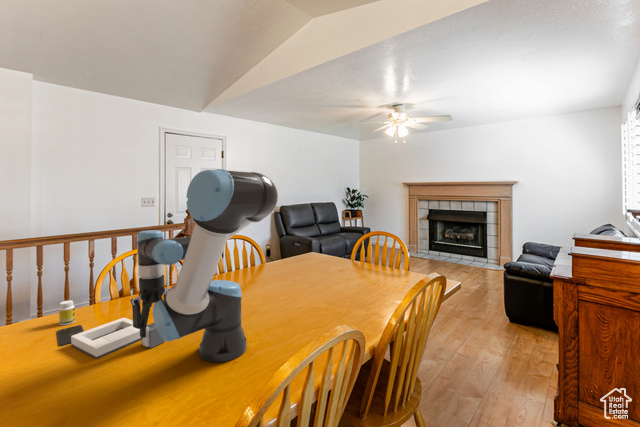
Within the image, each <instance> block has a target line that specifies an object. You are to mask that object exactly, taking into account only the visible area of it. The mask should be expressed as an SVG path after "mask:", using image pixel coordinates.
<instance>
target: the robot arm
mask: <svg viewBox="0 0 640 427" xmlns="http://www.w3.org/2000/svg"><path fill="white" fill-rule="evenodd" d="M186 191H187V192H186V199H187V200H186V208H187V211H188V213H189V215H190V217H191V220H192V222H193V223H194V228H193V231H192V234H191V236H184V237H173V238H164V233H163V232H162V231H161V230H156V229H154V230H151V229H150V230H141V231H139V232H138V233H137V237H136V239H137V240H136V244H137V264H138V266H137V267H138V277H139V278H138V288H139V293H138V296H136V297H134V298H131V299H130V302H129V303H130V304H131V305H132V306H131V307H132V321H133V327H134V328H137V329H140V337H141V338H142V340H141V343H142V342H143V345H142V346H144V347H147V348H149V327H147V325H148V321H149V316H150V311H151V308H152V317H153V321H154V322H153V323H155V326H156V329H157V331H158V333H159V335H160V337H161V338H162V339H163V340H165V342H172V341H175V340H180V339H182V338H185V337H186V336H188V335H191V334H195V333H196V332H199V331H202V330H204V331H203V333H202V338H201V342H200V343H199V347H198V349H199V350H198V351H199V352H198V355H199V357H200V358H201V359H202V360H203V361H206V362H209V363H222V362H228V361H231V360H234V359H237V358H239V357H240V356H242V355H243V354H245V352H246V351H247V343H248V342H247V338H246V336H245V332H244V329H243V327H242V326H243V325H242V298H243V296H242V288H241V285H240V284H239V283H237V282H235V281H232V280H225V279H224V280H223V279H216V280H213V278H214V275H215V273H216V270H217V268H218V266H219V263H220V261H221V257H222V255H223V253H224V251H225V248H226V244H227V242H228V240H230V239H231V238H233V237H234V236H235V235H237V234H238V233H239V232H240V231H242V230H244V229H245V228H246V227H248V226H249V225H251V224H252V223H259V222H261V221H262V220H264V219H265V218H266V217H268V216H269V215H271V213H272V212H273V211H274V210H275V208H276V206H277V203H278V199H279V198H278V197H279V196H278V189H277V187H276V185H275V183H274V182H273V181H272V179H270V178H269V177H268V176H267V175H265V174H263V173H259V172H255V171H250V172H249V171H237V170H226V169H224V168H223V169H222V168H221V169H220V168H216V169H205V170H202V171H200V172H197V174H195V175H194V176H193V178H192V179H191V181H190V182H189V185H188V187H187V190H186ZM180 261H182V266H181V268H180V272H179V274H178V277H177V280H176V283H175V285H172V287H170V288H168V287H164V285H165V275H164V274H165V265H167V266H172V265H175V264H177V263H178V262H180ZM162 296H163V297H162ZM141 301H142V303H141ZM152 305H153V306H152Z"/></svg>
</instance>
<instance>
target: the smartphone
mask: <svg viewBox="0 0 640 427" xmlns="http://www.w3.org/2000/svg"><path fill="white" fill-rule="evenodd" d="M84 331H85V330H84V327H83V325H81V324H79V325H74V326H70V327H66V328H65V327H64V328H62V329H58V330H57V331H56V338H57V345H58V346H57V347H63V346H67V345H72V344H71V336H73V335H76V334H78V333H81V332H84Z"/></svg>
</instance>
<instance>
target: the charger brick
mask: <svg viewBox="0 0 640 427" xmlns="http://www.w3.org/2000/svg"><path fill="white" fill-rule="evenodd" d="M147 327H149V347H148V348H149V349H153V348H154V347H156V346H159V345H161V344H163V343H165V342H166V341H165V340H163V339H162V338H161V337H160V335H159V333H158V331H157V329H156V326H155V323H154V322H152V323H149V324H147ZM141 345H142V346H143V342H142V341H141Z"/></svg>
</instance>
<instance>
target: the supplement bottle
mask: <svg viewBox="0 0 640 427" xmlns="http://www.w3.org/2000/svg"><path fill="white" fill-rule="evenodd" d="M75 308H76V307H75V305H74V301H73V300H72V299H70V300H64V301H61V302H60V303H59V308H58V319H59V325H60V326H66V325H67V326H69V325H70V324H74V323H75V322H76V311H75V310H76V309H75Z"/></svg>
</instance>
